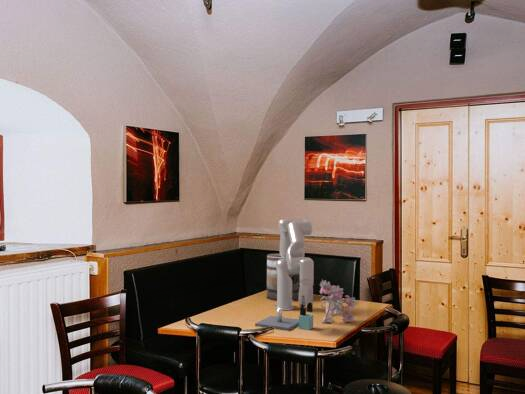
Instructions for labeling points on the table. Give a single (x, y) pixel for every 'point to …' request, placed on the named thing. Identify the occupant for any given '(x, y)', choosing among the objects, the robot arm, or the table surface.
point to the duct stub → (279, 315)
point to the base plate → (278, 323)
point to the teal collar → (306, 321)
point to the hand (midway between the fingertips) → (306, 313)
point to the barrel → (272, 278)
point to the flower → (336, 302)
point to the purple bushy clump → (328, 306)
